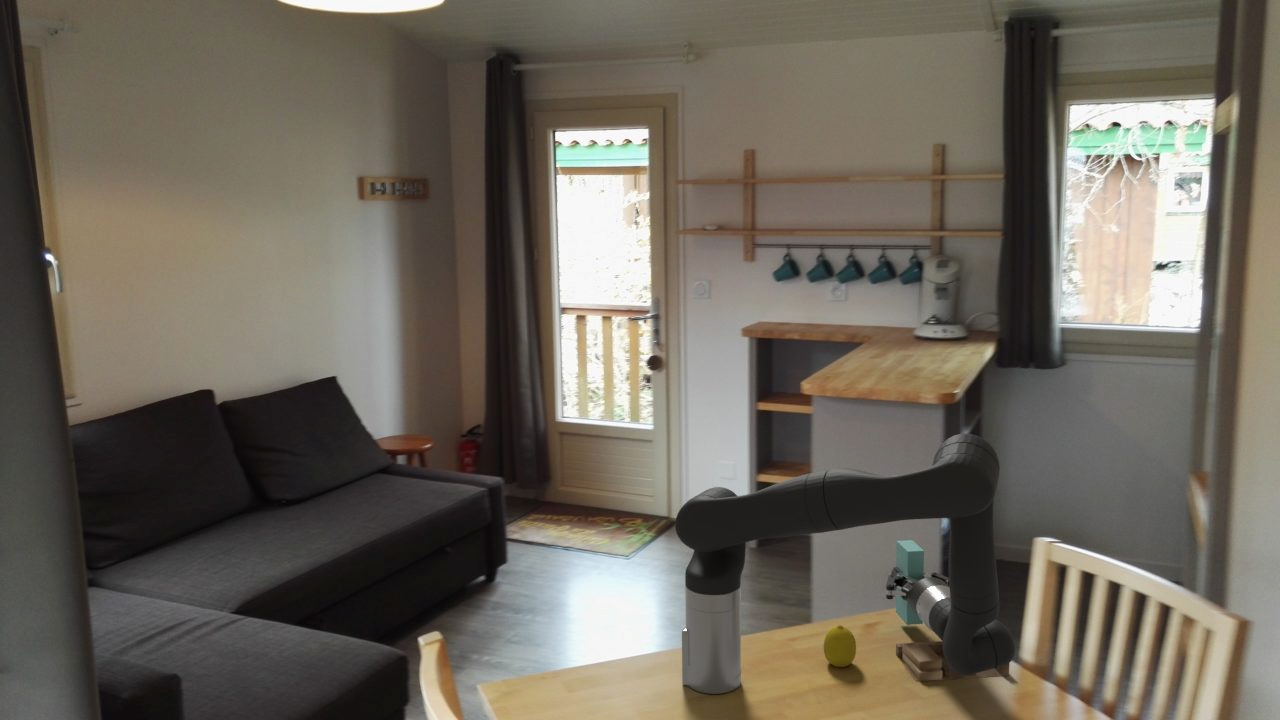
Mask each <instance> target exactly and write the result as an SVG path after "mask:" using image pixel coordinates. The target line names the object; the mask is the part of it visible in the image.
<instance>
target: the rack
mask: <svg viewBox="0 0 1280 720" xmlns="http://www.w3.org/2000/svg"><path fill="white" fill-rule="evenodd" d="M924 642H925V641H924ZM906 643H907V642H905V643H904V642H903V643H896V644H895V655H896V657H897V658H898V660H899V661H900V662H901V663H902V664H901V665H902V666H904V668H905V669H906V671H908V673H909V674H910V675H911V677H912V678H913V679H914V680H915V682H920V681H919V680H918V679H917V678H916V676H915V675H914V674H913V673H912V671H911V670H910V669H909V667H908V666H907V665H906V663H905V662H904V661H903V660H902V658H903V652H902V644H906ZM925 643H926V644H927V645H928V646H929V647H930V648H931V649H932V650H933V651H934V652H935V653H936V654H937V655H938V656H939V657H940V658H941V659H942V668H940V669H941V670H942V671H943V673H942V680H941V681H943V680H944V681H945V680H946V681H947V680H962V679H978V678H995V677H1009V676H1010V663H1008V664H1007V665H1005V666H1002V667H998V668H994V669H990V670H986V671H982V672H978V673H975V674H971V675H960V674H958V673H956V672H954V671H953V670H952V669H951V668H950V667H949V665H948V664H947V662H946V660H945V657H944V653H943V641H942V640H941V641H928V642H927V641H926V642H925ZM926 681H927V682H929V681H931V680H926ZM926 681H925V682H926Z"/></svg>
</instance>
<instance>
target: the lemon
mask: <svg viewBox="0 0 1280 720" xmlns="http://www.w3.org/2000/svg"><path fill="white" fill-rule="evenodd" d="M823 654H824V658H825V659H826V661H827V662H828V663H829V664H830V665H832V666H833V667H836V668H845V667H847V666H849V665H851V664H852V663H853V661H854V660H855V658H856V654H857V642H856V638H855V635H854V634H853V632H852V631H851V630H850V629H848V628H847V627H846V626H843V625H842V624H839V625H837V626H834V627H832V628H830V629H829V630H827V633H826V634H825V637H824V640H823Z"/></svg>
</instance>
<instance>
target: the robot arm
mask: <svg viewBox="0 0 1280 720" xmlns="http://www.w3.org/2000/svg"><path fill="white" fill-rule="evenodd" d="M1000 468H1001V467H1000V461H999V457H998V454H997V452H996V450H995V448H994V447H993V446H992V445H991V444H990V442H988V441H987V440H986V439H984V438H982V437H980V436H979V435H975V434H973V433H972V434H971V433H958V434H955V435H952V436H951V437H949V438H947V439H946V440H945V441H943V442H942V444H940V446H939V447H938V449H937V451H936V453H935V456H934V457H933V461H932V464H931V466H929V467H927V468H923V469H921V470H920V469H919V470H915V471H912V472H911V471H910V472H906V473H901V474H893V475H882V474H875V473H871V472H868V471H865V470H859V469H855V468H845V467H843V468H842V467H841V468H840V467H839V468H832V469H827V470H822V471H821V470H820V471H816V472H811V473H806V474H802V475H800V476H795V477H792V478H790V479H787V480H783V481H780V482H778V483H775V484H773V485H770V486H768V487H765V488H762V489H760V490H757V491H754V492H752V493H747V494H743V495H737V494H736V493H735V492H734V491H733V490H731V489H729V488H726V487H721V486H714V487H711V488H708V489H705V490H704V491H702V492H700V493H699V494H697V495H694V497H691V498H690V499H688V500H687V501H686V502H685V503H684V504H682V506H681V508H680V509H679V511H678V513H677V515H676V518H675V524H674V526H675V532H676V535H677V537H678V538H679V540H680V541H681V542H682V543H683V544H684V545H685V546H686V547H688V548H689V549H690V550H691V549H692V550H693V552H692V553H693V554H692V556H691V558H690V560H689V562H688V564H687V567H686V568H685V573H684V574H685V575H684V578H685V579H684V580H685V581H684V583H685V590H684V591H685V592H684V593H685V594H684V595H685V627H684V628H683V629H682V631H681V667H682V668H681V678H682V679H681V682H682V683H681V684H682V685H683V686H687V687H689V688H691V689H693V690H694V691H696V692H699V693H703V694H710V695H717V694H718V695H719V694H725V693H729V692H732V691H734V690H736V689H738V687H740V686H741V683H742V655H741V654H742V650H741V649H742V648H741V647H742V645H741V643H742V640H741V638H742V633H741V632H742V627H741V626H742V622H741V621H742V620H741V619H742V615H741V613H742V611H741V610H742V608H741V607H742V606H741V605H742V604H741V603H742V599H741V597H742V596H741V593H742V592H741V591H742V590H741V589H742V588H741V584H742V583H741V582H742V581H741V580H742V579H741V578H742V573H743V570H744V567H745V564H746V546H747V544H746V543H749V542H752V541H757V540H762V539H763V540H764V539H775V538H776V539H777V538H785V537H795V536H797V537H798V536H804V535H812V534H823V533H828V532H834V531H841V530H847V529H853V528H858V527H863V526H864V527H865V526H872V525H878V524H879V525H880V524H885V523H892V522H900V521H910V520H930V519H949V544H948V545H949V547H948V549H949V550H948V577H947V576H945V575H943V574H940V573H938V572H931V574H929V573H928V572H927V571H924V575H923V579H921V580H918V579H914V578H913V577H911V576H910V575H907V576H906V575H904V574H903V572H902V571H901V570H900V569H899V568H898V567H896V566H894V567H892V568H893V569H891V574H889V575H888V578H887V581H886V586H885V587H886V589H885V599H887V600H893V599H894V598H896V596H901V598H902V599H903V600H906V601H908V603H909V605H910V607H911V609H912V610H913V612H914V613H915V614H916V615H917V616H918V617H919V618H920V619H921V620H922V622H923V624H924V625H925V626H926V627H927V628H928V629H929V630H930V631H932V632H933V633H934V634H935V635H936V636H937V637H938V638H939V640H941V641H943V653H944V657H945V660H946V662H947V664H948V665H949V667H950V668H951V669H952V670H953V671H954V672H956V673H958V674H960V675H971V674H975V673H978V672H982V671H986V670H990V669H994V668H998V667H1002V666H1005V665H1007V664H1008V663H1009V664H1010V663H1011V662H1012V660H1013V659H1014V657H1015V655H1016V643H1015V639H1014V637H1013V635H1012V633H1011V632H1010V630H1009V629H1008V628H1007V627H1006V625H1005V624H1003V623H1002V622H1001V621H1000V620H999V619H997V618H998V616H999V613H1000V596H999V583H998V582H999V581H998V571H997V558H996V551H995V549H996V547H995V537H994V536H995V535H994V502H995V501H994V500H995V496H996V492H997V488H998V483H999V477H1000V470H1001V469H1000ZM898 588H899V589H898Z"/></svg>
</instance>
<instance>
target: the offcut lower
mask: <svg viewBox="0 0 1280 720" xmlns="http://www.w3.org/2000/svg"><path fill="white" fill-rule="evenodd" d="M902 660H903V661H904V662H905V663H906V665H907V666H908V667H909V669H910V670H911V671H912V673H913V674H914V675H915V676H916V678H917V679H918V680H919V681H918V682H926V680H930V681H943V680H942V673H943V671H942V670H941V669H940V668H937V669H926V670H919V669H918V668H917V667H916V666H915V665H914V664H913V663H912V662H911V661H910V660H909V659H908V658H907V657H906V656H905V655H904V654H903V658H902Z"/></svg>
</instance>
